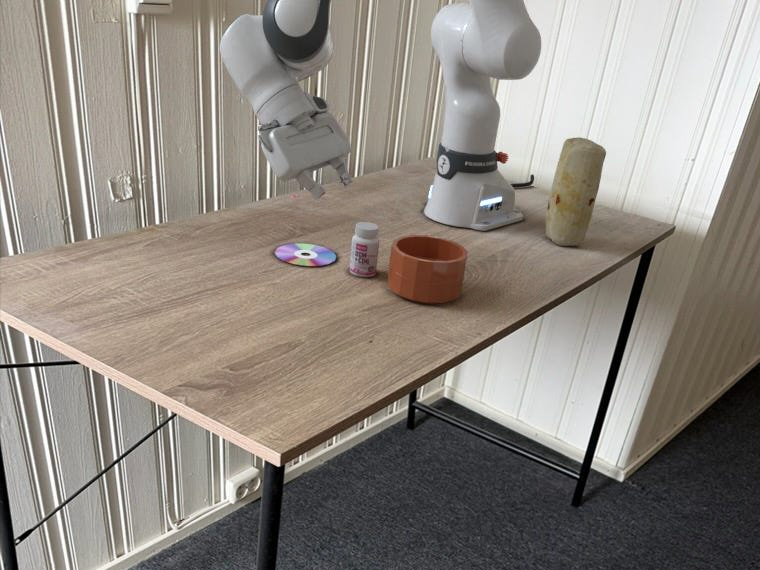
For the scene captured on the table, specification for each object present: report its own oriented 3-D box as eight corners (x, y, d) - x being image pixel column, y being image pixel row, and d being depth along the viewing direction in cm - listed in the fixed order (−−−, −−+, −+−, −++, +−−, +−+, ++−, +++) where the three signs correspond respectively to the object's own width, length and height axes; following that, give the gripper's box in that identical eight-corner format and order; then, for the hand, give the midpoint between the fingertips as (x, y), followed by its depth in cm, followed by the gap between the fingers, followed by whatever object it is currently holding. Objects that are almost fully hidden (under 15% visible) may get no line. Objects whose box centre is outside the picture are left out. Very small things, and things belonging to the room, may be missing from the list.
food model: (589, 245, 173) (615, 144, 161) (574, 252, 168) (600, 148, 156) (548, 232, 177) (571, 132, 165) (533, 238, 173) (555, 136, 161)
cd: (262, 251, 150) (262, 250, 150) (305, 239, 157) (306, 239, 157) (305, 270, 144) (305, 270, 144) (349, 258, 152) (349, 257, 152)
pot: (429, 272, 151) (435, 231, 146) (475, 299, 143) (483, 256, 138) (372, 282, 144) (377, 239, 139) (417, 311, 136) (423, 266, 132)
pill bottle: (351, 277, 145) (355, 229, 140) (347, 267, 148) (351, 220, 143) (378, 278, 146) (383, 230, 141) (373, 268, 149) (378, 221, 144)
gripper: (264, 114, 129) (315, 193, 132) (330, 97, 144) (374, 168, 147) (241, 138, 133) (290, 214, 136) (307, 120, 148) (350, 188, 151)
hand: (334, 190), depth 142 cm, fingers open, 8 cm apart
